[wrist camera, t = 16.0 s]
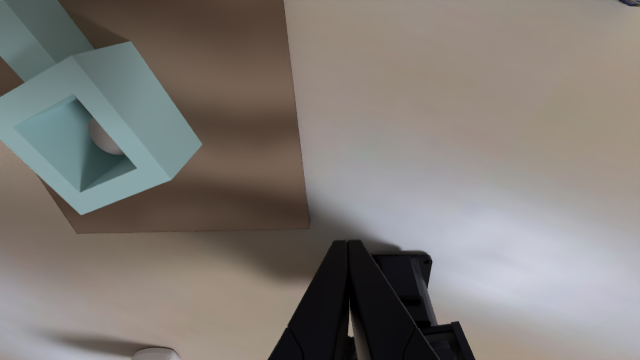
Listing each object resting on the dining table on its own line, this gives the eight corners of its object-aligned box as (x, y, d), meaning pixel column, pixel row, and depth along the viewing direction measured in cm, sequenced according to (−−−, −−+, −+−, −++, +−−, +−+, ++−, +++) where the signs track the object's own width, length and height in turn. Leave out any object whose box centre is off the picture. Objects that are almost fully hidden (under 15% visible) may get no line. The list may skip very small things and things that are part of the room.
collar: (202, 144, 20) (171, 179, 16) (125, 176, 22) (81, 215, 18) (51, -74, 14) (-52, -98, 11) (-39, -7, 16) (-155, -6, 12)
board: (309, 222, 25) (305, 259, 21) (83, 227, 26) (46, 262, 23) (270, -107, 14) (249, -138, 11) (-106, -64, 16) (-230, -79, 12)
